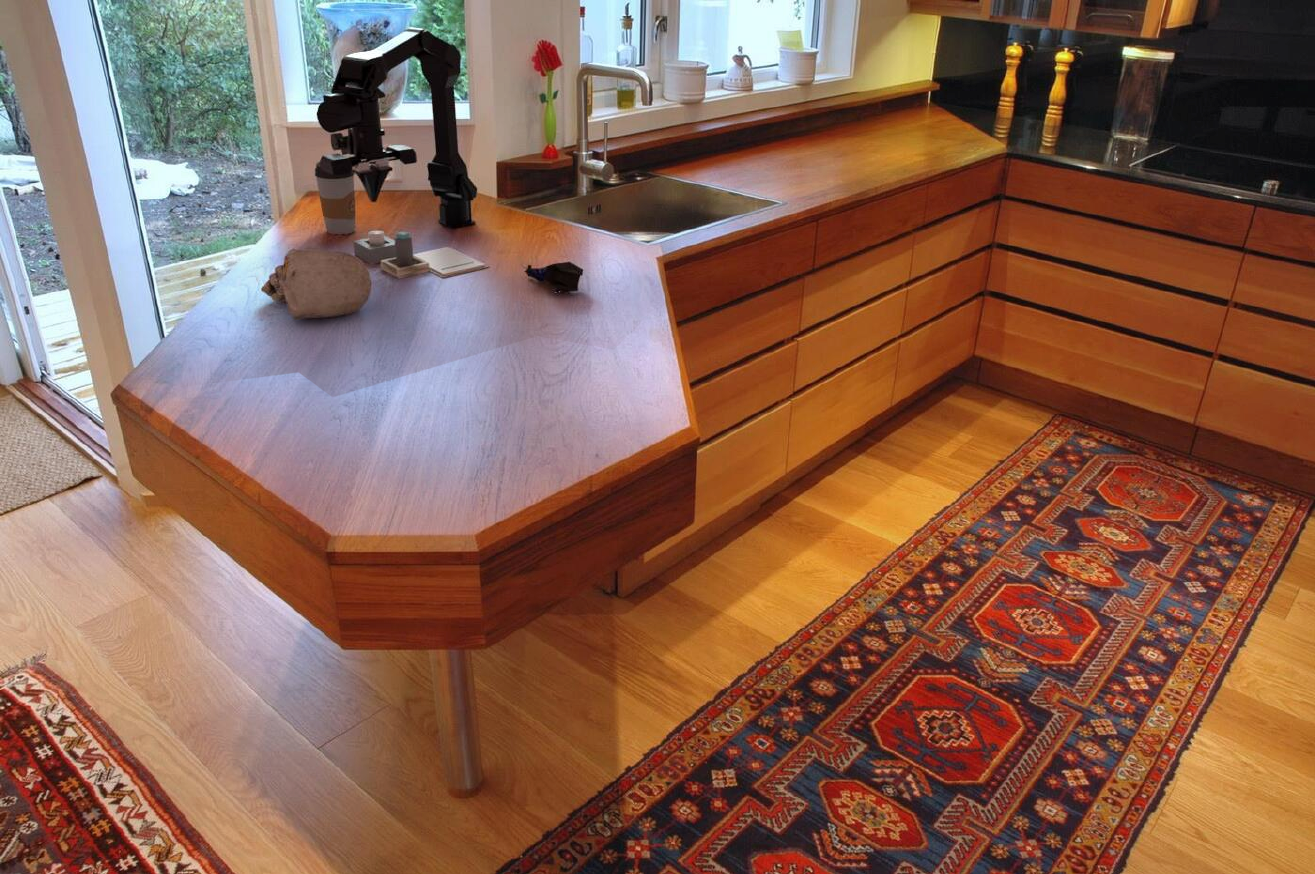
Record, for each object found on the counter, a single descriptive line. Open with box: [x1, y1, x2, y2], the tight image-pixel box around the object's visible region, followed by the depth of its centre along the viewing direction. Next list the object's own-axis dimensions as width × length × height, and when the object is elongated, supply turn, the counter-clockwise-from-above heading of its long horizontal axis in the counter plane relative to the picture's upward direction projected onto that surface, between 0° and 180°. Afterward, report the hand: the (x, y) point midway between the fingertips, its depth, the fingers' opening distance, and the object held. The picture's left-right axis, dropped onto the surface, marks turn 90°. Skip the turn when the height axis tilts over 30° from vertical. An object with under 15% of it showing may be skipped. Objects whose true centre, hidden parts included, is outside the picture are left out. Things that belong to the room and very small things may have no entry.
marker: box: [394, 231, 414, 268], centre depth 203 cm, size 3×3×7 cm
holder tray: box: [380, 255, 430, 279], centre depth 205 cm, size 7×7×2 cm
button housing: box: [353, 235, 396, 264], centre depth 211 cm, size 7×7×3 cm
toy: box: [519, 261, 584, 293], centre depth 199 cm, size 9×6×15 cm
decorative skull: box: [260, 247, 373, 320], centre depth 183 cm, size 12×18×20 cm
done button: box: [367, 230, 385, 246], centre depth 210 cm, size 3×3×3 cm
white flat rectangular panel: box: [413, 246, 490, 279], centre depth 210 cm, size 11×15×1 cm
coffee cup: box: [314, 161, 357, 236], centre depth 222 cm, size 8×8×15 cm
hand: (373, 201), depth 206 cm, fingers closed
